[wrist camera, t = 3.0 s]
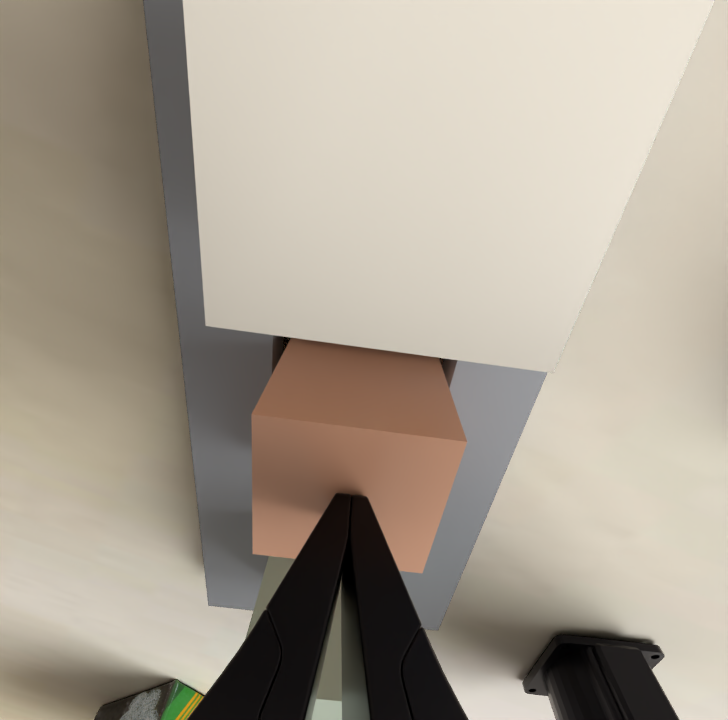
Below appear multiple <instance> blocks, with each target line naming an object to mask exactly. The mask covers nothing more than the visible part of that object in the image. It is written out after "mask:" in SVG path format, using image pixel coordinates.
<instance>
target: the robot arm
mask: <svg viewBox="0 0 728 720" xmlns="http://www.w3.org/2000/svg"><path fill="white" fill-rule="evenodd" d="M341 578H342V580H341ZM340 584H341V663H342V720H468V718H467V716H466V714H465V712H464V710H463V709H462V707H461V705H460V703H459V701H458V699H457V697H456V695H455V694H454V692H453V690H452V688H451V686H450V684H449V682H448V680H447V678H446V676H445V674H444V672H443V670H442V668H441V666H440V663H439V661H438V659H437V657H436V655H435V653H434V650H433V648H432V646H431V644H430V641H429V639H428V637H427V634H426V632H425V630H424V628H423V627H421V626H422V623H421V621H420V618H419V616H418V614H417V611H416V609H415V607H414V604H413V602H412V600H411V597H410V595H409V593H408V590H407V588H406V585H405V583H404V581H403V578H402V576H401V574H400V571H399V569H398V567H397V564H396V562H395V560H394V557H393V555H392V553H391V550H390V548H389V546H388V543H387V541H386V539H385V536H384V534H383V532H382V529H381V527H380V525H379V522H378V520H377V518H376V515H375V513H374V510H373V508H372V506H371V503H370V501H369V499H368V497H366V496H361V495H352V497H351V495H350V494H345V493H336V494H335V495H334V496H333V498H332V500H331V501H330V503H329V505H328V506H327V508H326V510H325V511H324V513H323V514H322V516H321V518H320V519H319V521H318V523H317V524H316V526H315V528H314V529H313V531H312V533H311V534H310V536H309V537H308V539H307V541H306V542H305V544H304V546H303V547H302V549H301V551H300V552H299V554H298V555H297V557H296V559H295V560H294V562H293V564H292V565H291V567H290V569H289V570H288V572H287V573H286V575H285V577H284V578H283V580H282V582H281V583H280V585H279V587H278V588H277V590H276V591H275V593H274V595H273V596H272V598H271V600H270V601H269V603H268V605H267V606H266V610H264V611H263V612H262V614H261V616H260V617H259V619H258V621H257V622H256V624H255V625H254V627H253V629H252V630H251V632H250V633H249V635H248V636H247V638H246V639H245V641H244V642H243V644H242V645H241V647H240V649H239V650H238V652H237V653H236V654H235V656H234V657H233V658H232V660H231V661H230V663H229V664H228V665H227V667H226V668H225V669H224V671H223V672H222V674H221V675H220V676H219V678H218V679H217V680H216V682H215V683H214V684H213V686H212V687H211V688H210V689H209V691H208V692H207V693H206V695H205V696H204V697H203V699H202V700H201V701H200V703H199V704H198V705H197V706H196V708H195V709H194V710H193V712H192V713H191V714H190V716H189V717H188V718H187V719H186V720H312V715H313V710H314V706H315V701H316V697H317V692H318V687H319V683H320V678H321V673H322V669H323V664H324V660H325V655H326V650H327V646H328V641H329V637H330V632H331V627H332V623H333V618H334V613H335V609H336V604H337V600H338V595H339V590H340ZM663 658H664V654H663V652H662V650H661V649H660V647H659V646H658V645H652V644H643V643H634V642H625V641H616V640H607V639H598V638H589V637H580V636H570V635H559V636H556V637H555V638H554V639H553V640H552V642H551V643H550V645H549V646H548V647H547V649H546V650H545V652H544V653H543V654H542V656H541V657H540V659H539V660H538V661H537V663H536V664H535V666H534V667H533V669H532V670H531V671H530V673H529V674H528V676H527V677H526V678H525V680H524V681H523V683H522V684H523V687H524V691H525V693H527V694H534V695H544V696H548V697H549V700H550V703H551V706H552V709H553V712H554V715H555V718H556V720H679V718H678V716H677V714H676V713H675V711H674V709H673V707H672V705H671V704H670V702H669V700H668V698H667V696H666V695H665V693H664V691H663V689H662V687H661V686H660V684H659V682H658V680H657V678H656V677H655V675H654V673H653V671H652V669H653V668H654V667H655V666H656V665H657V664H658V663H659V662H660V661H661V660H662V659H663Z"/></svg>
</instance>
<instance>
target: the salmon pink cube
mask: <svg viewBox="0 0 728 720" xmlns="http://www.w3.org/2000/svg"><path fill="white" fill-rule="evenodd" d="M251 420H252V535H253V554H257V555H266V556H274V557H283V558H292V559H296V557H297V555H298V554H299V552H300V551H301V549H302V547H303V546H304V544H305V542H306V541H307V539H308V537H309V536H310V534H311V533H312V531H313V529H314V528H315V526H316V524H317V523H318V521H319V519H320V518H321V516H322V514H323V513H324V511H325V510H326V508H327V506H328V505H329V503H330V501H331V500H332V498H333V496H334V495H335V494H336V493H345V494H350V495H351V497H352V495H361V496H366V497H368V499H369V501H370V503H371V506H372V508H373V510H374V513H375V515H376V518H377V520H378V522H379V525H380V527H381V529H382V532H383V534H384V536H385V539H386V541H387V543H388V546H389V548H390V550H391V553H392V555H393V557H394V560H395V562H396V564H397V567H398V569H399V571H405V572H414V573H423V570H424V567H425V564H426V561H427V559H428V556H429V553H430V550H431V547H432V544H433V541H434V538H435V535H436V532H437V529H438V526H439V523H440V520H441V518H442V515H443V512H444V509H445V506H446V503H447V500H448V497H449V494H450V491H451V488H452V485H453V482H454V479H455V477H456V474H457V471H458V468H459V465H460V462H461V459H462V456H463V453H464V450H465V447H466V444H467V440H466V437H465V434H464V431H463V428H462V425H461V422H460V419H459V416H458V413H457V410H456V407H455V404H454V401H453V398H452V395H451V392H450V389H449V386H448V383H447V380H446V377H445V375H444V372H443V369H442V366H441V363H440V360H439V358H438V357H430V356H423V355H416V354H408V353H401V352H394V351H386V350H379V349H372V348H364V347H357V346H349V345H342V344H335V343H327V342H320V341H313V340H305V339H298V338H291V339H290V341H289V343H288V345H287V347H286V348H285V350H284V352H283V354H282V356H281V358H280V360H279V362H278V364H277V366H276V368H275V370H274V372H273V374H272V376H271V377H270V379H269V381H268V383H267V385H266V387H265V389H264V391H263V393H262V395H261V397H260V399H259V401H258V403H257V405H256V406H255V408H254V410H253V412H252V414H251Z"/></svg>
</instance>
